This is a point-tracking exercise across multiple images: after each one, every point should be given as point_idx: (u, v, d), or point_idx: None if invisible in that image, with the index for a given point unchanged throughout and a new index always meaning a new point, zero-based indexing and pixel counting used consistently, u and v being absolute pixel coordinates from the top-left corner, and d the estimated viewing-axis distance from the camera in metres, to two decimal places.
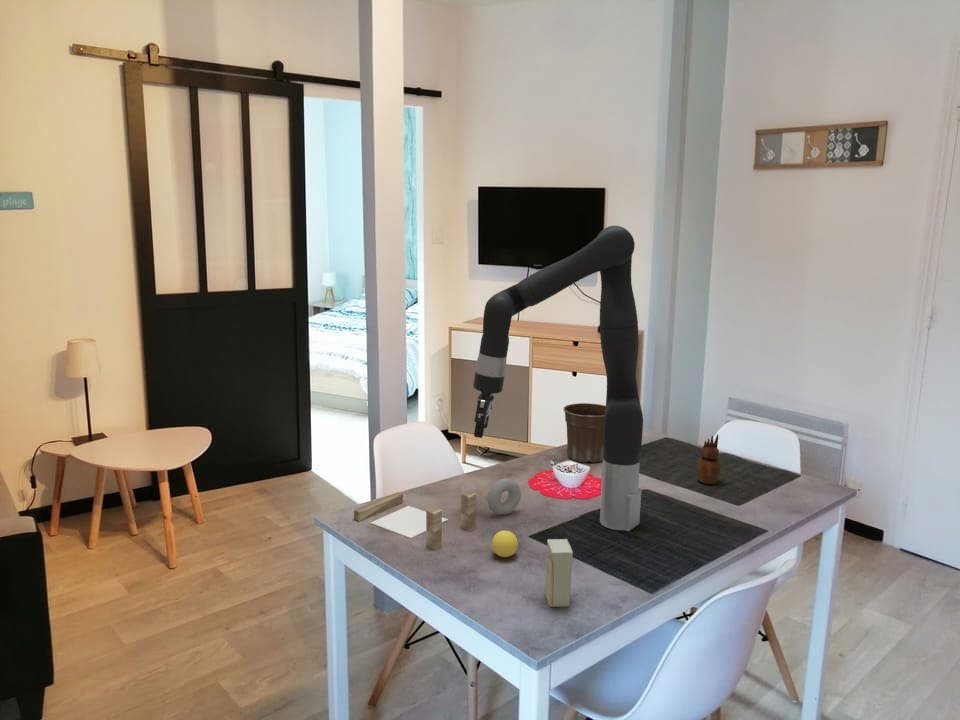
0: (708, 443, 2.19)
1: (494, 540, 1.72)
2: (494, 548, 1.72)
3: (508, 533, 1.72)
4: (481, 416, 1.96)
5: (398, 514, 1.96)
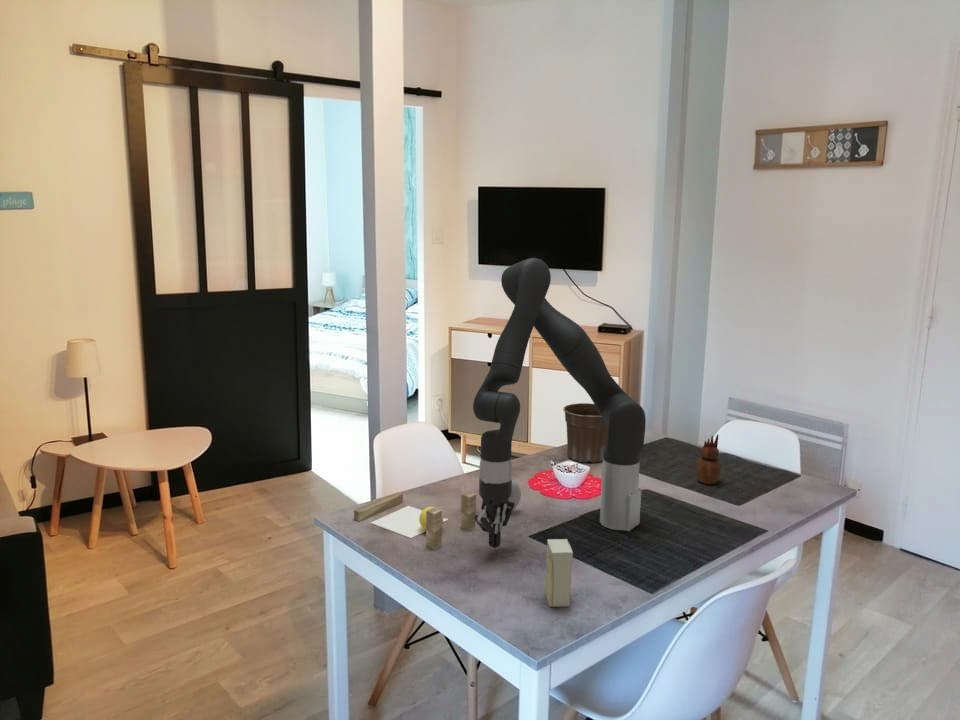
0: (708, 443, 2.19)
1: (419, 520, 1.86)
2: (422, 526, 1.85)
3: (427, 507, 1.86)
4: None
5: (398, 514, 1.96)
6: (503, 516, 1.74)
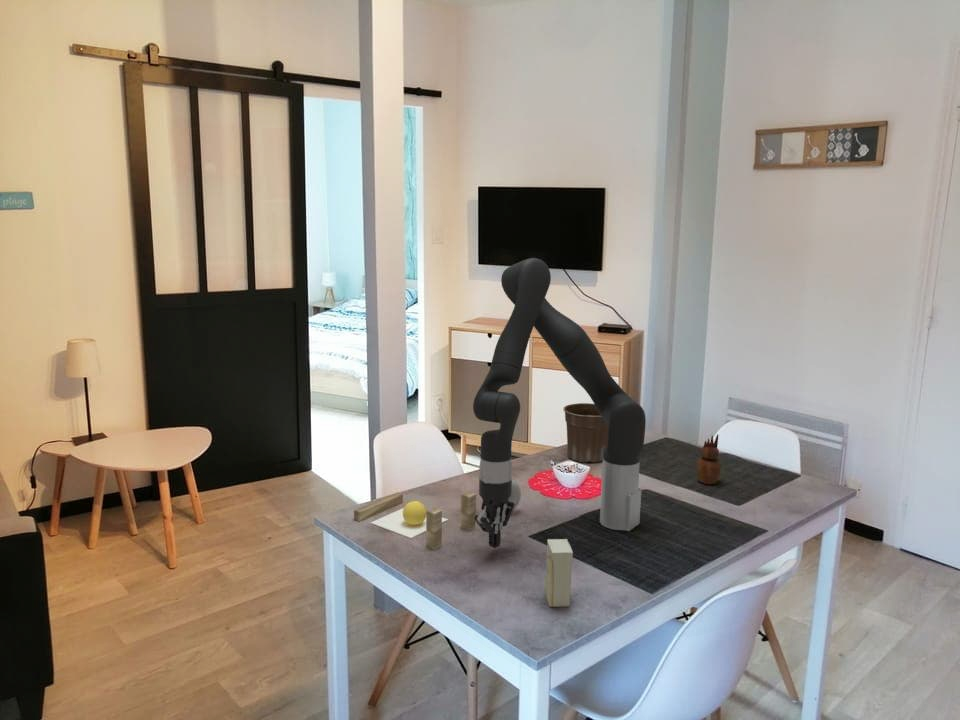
0: (708, 443, 2.19)
1: (410, 523, 1.88)
2: (411, 518, 1.87)
3: None
4: None
5: (398, 514, 1.96)
6: (503, 516, 1.74)
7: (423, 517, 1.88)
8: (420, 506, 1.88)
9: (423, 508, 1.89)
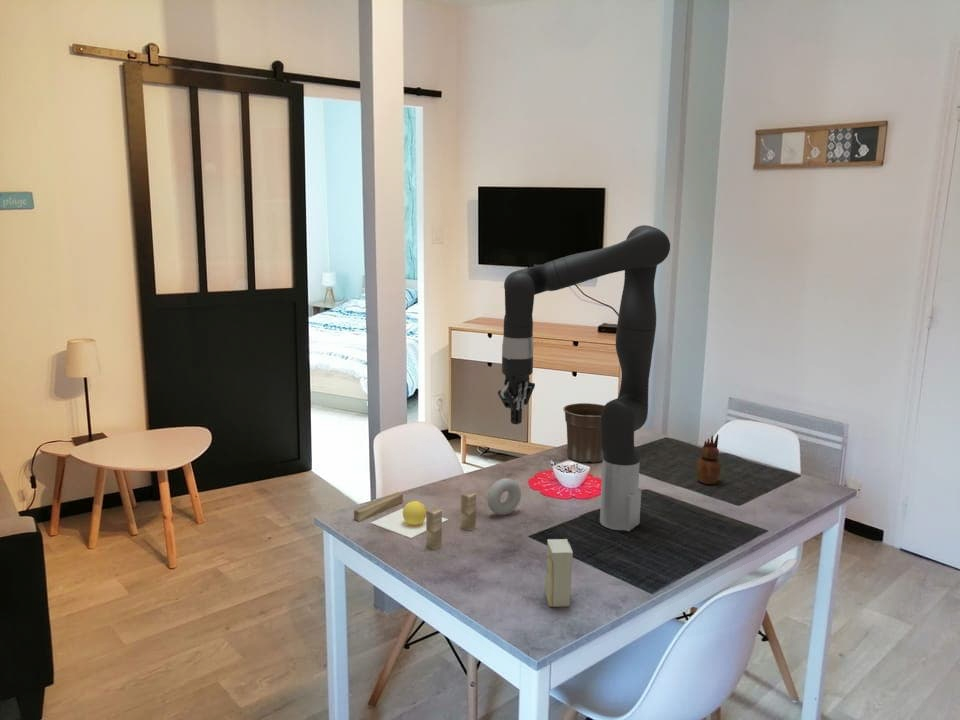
0: (708, 443, 2.19)
1: (410, 523, 1.88)
2: (410, 518, 1.87)
3: None
4: None
5: (398, 514, 1.96)
6: (524, 394, 1.83)
7: (423, 517, 1.88)
8: (420, 506, 1.88)
9: (423, 508, 1.89)
